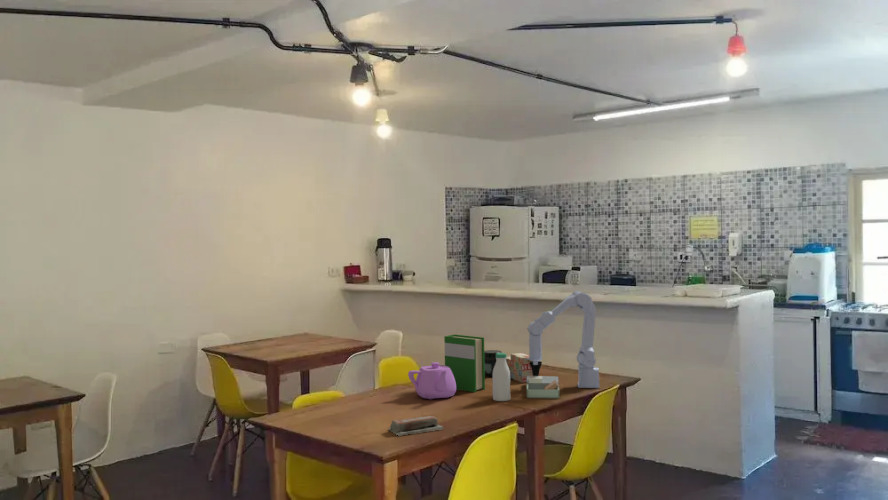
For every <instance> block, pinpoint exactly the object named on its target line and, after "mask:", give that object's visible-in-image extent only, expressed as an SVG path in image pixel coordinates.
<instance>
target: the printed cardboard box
mask: <svg viewBox="0 0 888 500" xmlns="http://www.w3.org/2000/svg"><path fill="white" fill-rule="evenodd" d="M527 357H529V354H525V353H523V352H518V353H516V352H515V353H510V355H508V356H506V363H507V365H508V367H509V370H510V379H512V380H514V381H517V382H519V383H521V384H524V383H525V382H527V376H533V373H532V368H531V366H530V364H529V362H533V361H531V360H527Z"/></svg>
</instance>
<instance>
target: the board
mask: <svg viewBox="0 0 888 500" xmlns="http://www.w3.org/2000/svg"><path fill="white" fill-rule="evenodd" d="M541 376H542V383H529V376H527V382H526V387H527V384H528V389H532V390H545V388H544V387H545V386H547V385H548V384H550V383H552V382H553V381H555V380H556V381H557V383H558V385H559V386H560V380H559V376H551V375H548V376H547V375H541ZM554 390H557V388H555V389H554Z"/></svg>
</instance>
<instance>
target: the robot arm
mask: <svg viewBox="0 0 888 500" xmlns="http://www.w3.org/2000/svg"><path fill="white" fill-rule="evenodd" d="M572 307H579V308H580V309H581V310H582V311H583V313H584V314H583V324H582V335H581V337H582V338H581V346H580V347H579V351H578V353H577V356H576V361H577V363H578V366H577V367H578V370H577V371H578V382H577V388H579V389H582V388H583V389H599V388H600V370H599V369H600V368H599V367H595V365H596V357H595V350H594V336H595V326H596V325H595V324H596V317H597V316H596V315H597V308H596V306H595V304H594V302H593V299H592V297H591V296H590V295H589V294H587V293H586V292H582V291H580V290H576V291H574V292H572V293H571V294H569V295H568V296H567V297H566V298H564V299H563V300H562V301H561V302H560V303H559V304H558V305H556V307H554V308H553V309H552V310H551V311H549V310H548V311H543V312H542V313H541V314H542V315H541V316H539V317H538V318H535V319H534V321H531V322H529V324H528V326H527V332H528V335H529V337H528V345H529V346H528V347H529V348H528V349H529V350H528V351H529V352H528V355H529V357H527V360H531V361H533V362H529V364H530V366H531V368H532V373H533V376H540V375H539V374H540V369H541V366H542V365H543V362H542V360H543V357H542V356H543V353H542V352H543V351H542V350H543V347H542V346H543V345H542V334H543V332H544V330H545V329H546V328H548V327H549V326H551V325H552V324H553V323H555V321H556V317H557V316H559V315H560V314H561V313H563V312H565V311H566V310H567V309H569V308H572Z"/></svg>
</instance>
